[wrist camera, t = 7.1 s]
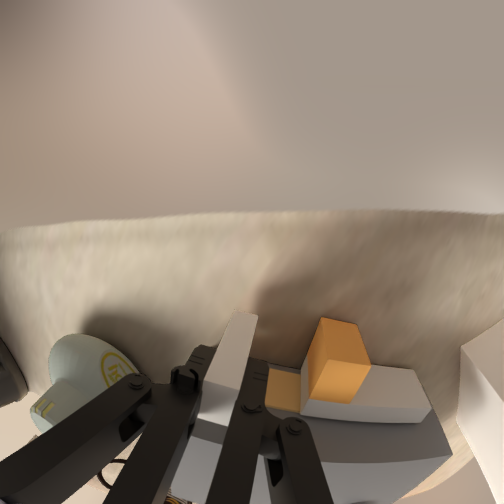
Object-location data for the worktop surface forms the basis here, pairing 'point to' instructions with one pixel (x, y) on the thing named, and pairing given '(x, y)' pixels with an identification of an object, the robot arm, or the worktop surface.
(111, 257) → the worktop surface
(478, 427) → the milk
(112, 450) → the robot arm
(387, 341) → the worktop surface
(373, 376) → the door
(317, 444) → the grey box with knob
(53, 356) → the air freshener
